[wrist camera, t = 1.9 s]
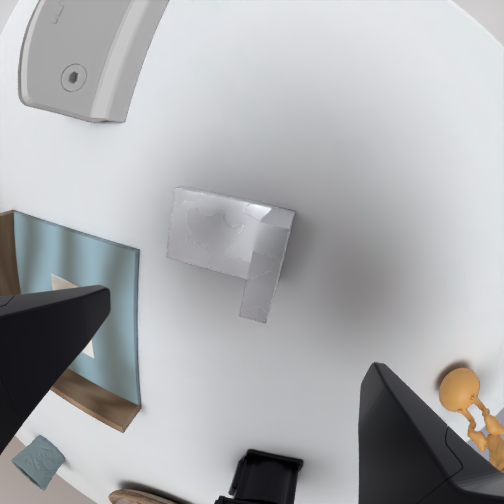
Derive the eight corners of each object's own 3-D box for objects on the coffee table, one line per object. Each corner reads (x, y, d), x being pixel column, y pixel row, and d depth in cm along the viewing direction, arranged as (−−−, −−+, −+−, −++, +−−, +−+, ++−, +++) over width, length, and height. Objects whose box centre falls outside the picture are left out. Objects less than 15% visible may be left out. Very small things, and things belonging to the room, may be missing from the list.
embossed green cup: (40, 442, 45) (16, 468, 34) (33, 426, 42) (6, 454, 31) (69, 466, 45) (47, 494, 33) (65, 452, 41) (39, 484, 30)
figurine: (469, 333, 18) (533, 432, 7) (500, 353, 18) (555, 437, 7) (410, 402, 21) (436, 508, 10) (447, 414, 21) (476, 504, 9)
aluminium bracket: (295, 211, 19) (288, 229, 13) (278, 280, 20) (265, 323, 15) (182, 186, 20) (135, 194, 14) (173, 252, 21) (129, 281, 16)
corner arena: (139, 249, 22) (105, 267, 18) (141, 408, 28) (123, 433, 23) (12, 209, 24) (-16, 217, 20) (31, 344, 30) (11, 359, 26)
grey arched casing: (123, 127, 19) (4, 116, 11) (97, 122, 21) (-4, 115, 13) (190, -40, 14) (104, -86, 5) (156, -28, 16) (76, -62, 7)
